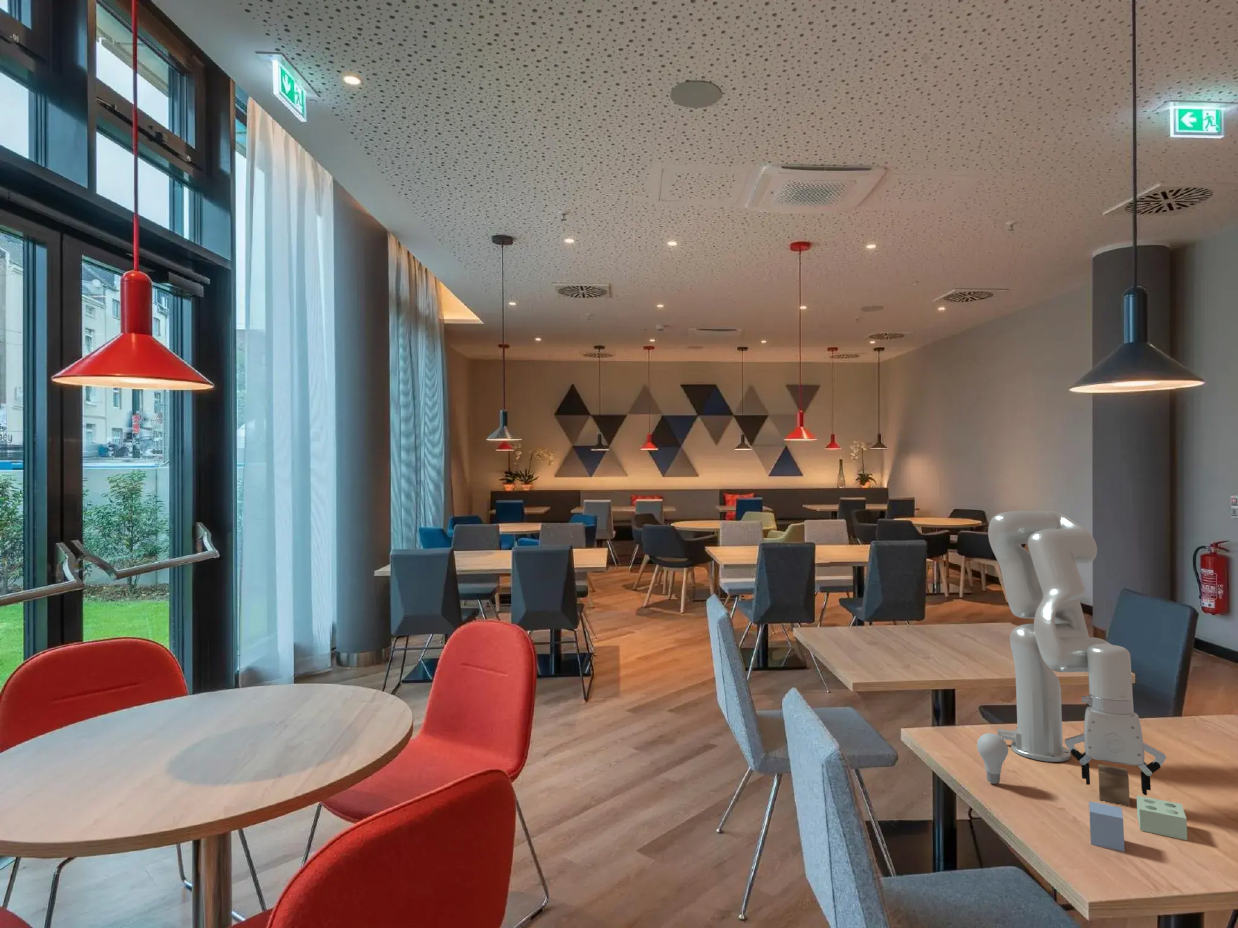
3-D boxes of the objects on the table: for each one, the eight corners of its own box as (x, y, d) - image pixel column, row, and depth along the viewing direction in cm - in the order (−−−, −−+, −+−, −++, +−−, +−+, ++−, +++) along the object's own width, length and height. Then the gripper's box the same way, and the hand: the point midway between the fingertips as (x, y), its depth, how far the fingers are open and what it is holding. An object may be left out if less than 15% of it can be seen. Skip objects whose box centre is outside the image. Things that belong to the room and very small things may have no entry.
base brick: (1140, 830, 131) (1139, 809, 131) (1137, 815, 137) (1136, 795, 137) (1187, 840, 127) (1186, 818, 127) (1182, 824, 133) (1181, 803, 133)
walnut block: (1100, 800, 144) (1099, 771, 144) (1099, 791, 148) (1098, 763, 148) (1129, 806, 141) (1128, 777, 141) (1128, 797, 145) (1126, 768, 145)
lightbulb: (1006, 779, 154) (1004, 730, 154) (1012, 791, 148) (1010, 739, 149) (976, 776, 156) (974, 727, 156) (980, 787, 150) (979, 736, 151)
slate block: (1090, 844, 126) (1089, 811, 127) (1090, 832, 130) (1089, 800, 131) (1124, 852, 124) (1123, 818, 124) (1122, 840, 128) (1121, 807, 128)
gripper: (1062, 702, 146) (1066, 784, 145) (1165, 715, 137) (1170, 803, 136) (1062, 694, 153) (1066, 773, 152) (1161, 706, 143) (1166, 790, 142)
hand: (1115, 787), depth 144 cm, fingers open, 9 cm apart
